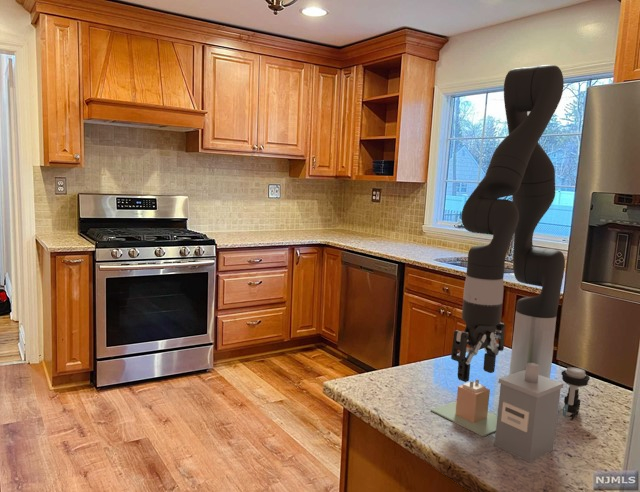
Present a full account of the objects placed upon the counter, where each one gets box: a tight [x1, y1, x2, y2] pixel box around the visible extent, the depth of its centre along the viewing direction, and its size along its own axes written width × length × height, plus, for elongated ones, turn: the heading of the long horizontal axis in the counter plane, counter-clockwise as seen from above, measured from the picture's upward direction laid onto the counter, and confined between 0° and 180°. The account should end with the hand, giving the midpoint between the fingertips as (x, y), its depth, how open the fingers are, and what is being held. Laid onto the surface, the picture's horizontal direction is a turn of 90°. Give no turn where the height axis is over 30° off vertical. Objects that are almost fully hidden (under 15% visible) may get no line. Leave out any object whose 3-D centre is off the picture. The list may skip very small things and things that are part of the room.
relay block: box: [455, 378, 491, 423], centre depth 107 cm, size 4×4×8 cm
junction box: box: [493, 363, 565, 463], centre depth 95 cm, size 9×8×16 cm
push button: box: [560, 366, 591, 421], centre depth 109 cm, size 7×5×10 cm
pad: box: [430, 400, 498, 438], centre depth 107 cm, size 10×13×1 cm
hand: (476, 376), depth 106 cm, fingers open, 8 cm apart
